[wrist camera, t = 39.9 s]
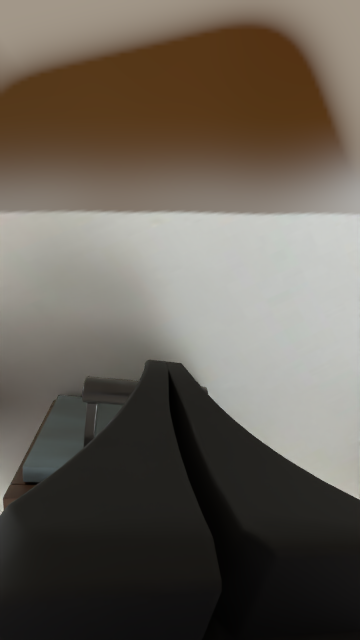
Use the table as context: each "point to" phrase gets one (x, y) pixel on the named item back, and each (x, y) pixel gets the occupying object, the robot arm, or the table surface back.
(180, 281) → the table surface
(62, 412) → the drawer
